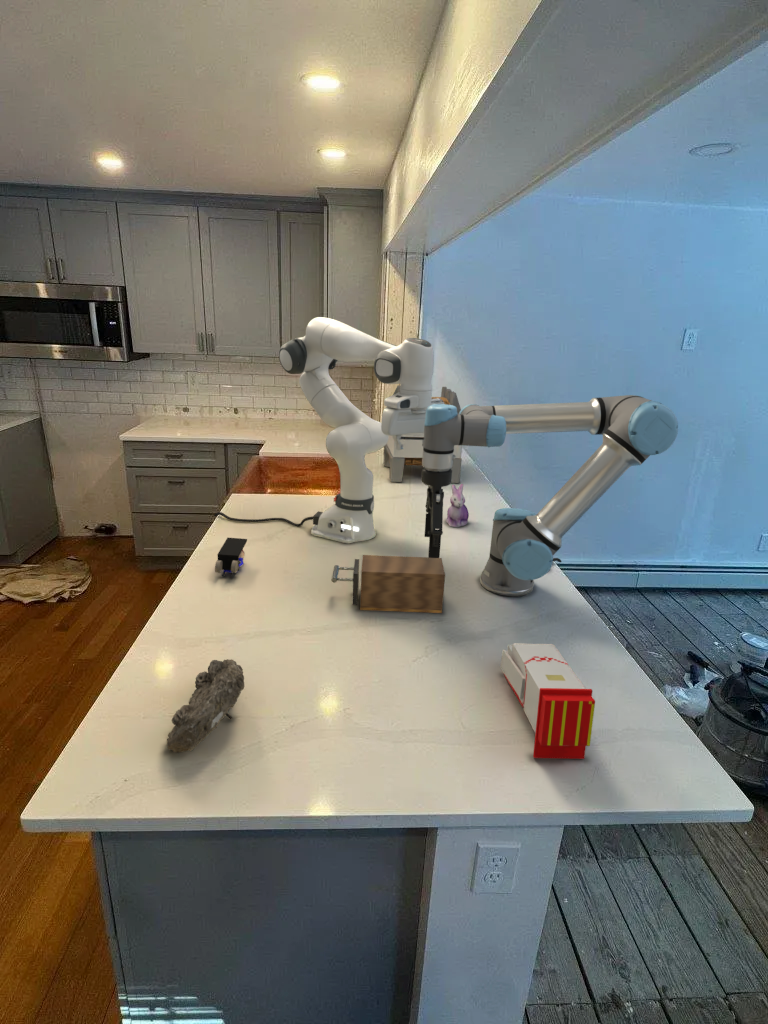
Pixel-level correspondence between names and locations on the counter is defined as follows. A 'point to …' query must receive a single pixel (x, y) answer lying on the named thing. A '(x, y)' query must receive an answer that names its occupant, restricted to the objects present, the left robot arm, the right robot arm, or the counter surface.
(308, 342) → the left robot arm
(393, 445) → the transformer
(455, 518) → the figurine
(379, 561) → the cabinet
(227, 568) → the black wheeled block
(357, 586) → the drawer
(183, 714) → the fossil
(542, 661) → the toy
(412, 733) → the counter surface
